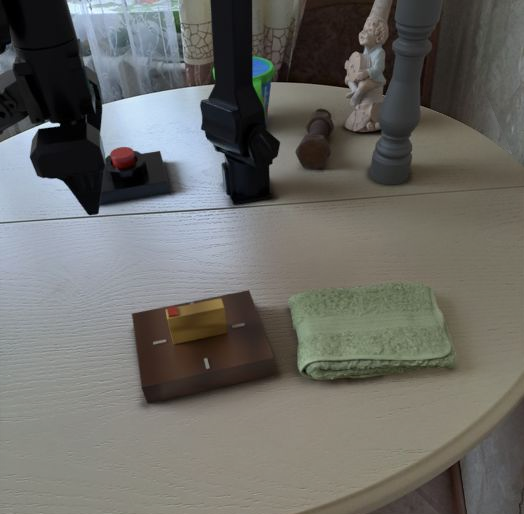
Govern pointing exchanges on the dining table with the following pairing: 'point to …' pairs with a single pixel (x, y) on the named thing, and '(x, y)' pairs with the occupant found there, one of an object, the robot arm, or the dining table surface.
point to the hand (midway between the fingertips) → (93, 191)
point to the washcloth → (370, 331)
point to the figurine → (368, 71)
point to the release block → (135, 179)
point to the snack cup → (262, 80)
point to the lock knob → (196, 321)
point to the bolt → (316, 141)
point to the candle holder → (404, 90)
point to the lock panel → (201, 351)
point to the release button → (123, 157)
